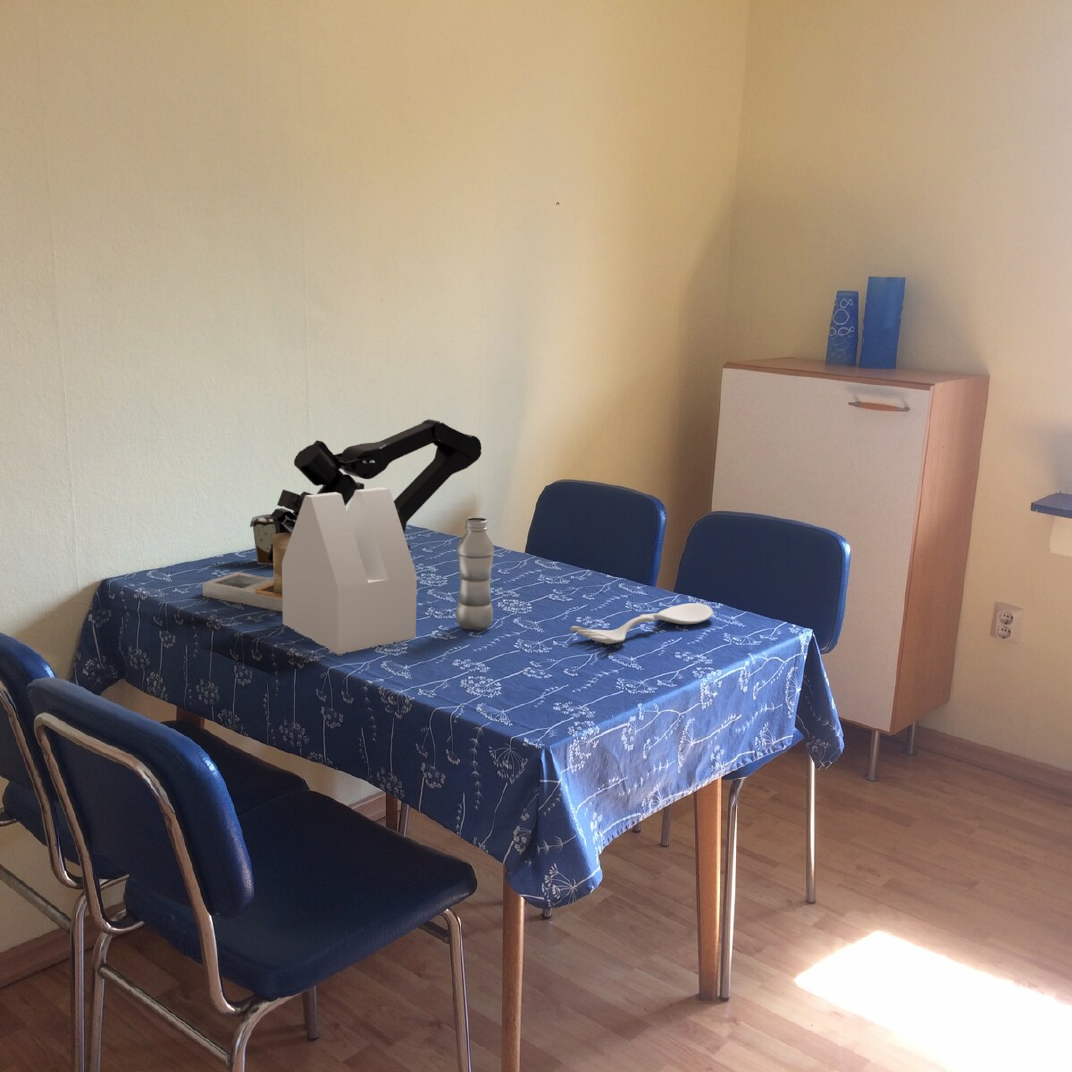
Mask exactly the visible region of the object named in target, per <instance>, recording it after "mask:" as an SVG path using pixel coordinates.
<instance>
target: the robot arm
mask: <svg viewBox="0 0 1072 1072" xmlns="http://www.w3.org/2000/svg"><path fill="white" fill-rule="evenodd" d="M432 444H433V445H434V446H435V447H436V450H435V454H434V458H433V459H432V461H431V462H430V463H429V464H427V466H426V467H425V468H424V469H423V470H422V471H421V472H420V473H419V474H418V475H417V476H416V477H415V478H414V479H413V481H411V482H410V484H408V485H407V487H405V489H403V490H402V492H401V493H400V494H399V495H398V496H397V497H396V498H395V499H393V501H394V504H395V507H396V510H397V513H398V517H399V520H400V523H401V526H402V529H403V532H404V534H406V533H405V531H406V529H407V524H408V522H409V520H410V519H412V517H413V516H414V515H415V514H416V513H417V512H418V511H419V510H420V509H421V508H422V507H423V506H424V505H425V503H426V502H427V501H428V500H429V499H431V497H432V496H434V494H435V493H436V492H437V491H438V490H439V489H440V488H441V487H442V486H443V485H444V484H445V482H446V481H447V480H448V479H449V478H450V477H452V476H453V475H454V474H457V473H458V472H461V471H464V470H466V469H468V468H469V467H471V466H472V465H473V464H474V463H476V462H477V461H478V460H479V458H480V457H481V456H482V444H481V441H480V438H478V437H477V436H476V435H472V434H466V433H463V432H461V431H459V430H458V429H456V428H455V429H454V428H453V427H450V426H449V425H447V424H445V423H444V422H443V421H440V420H436V419H435V420H434V419H425V420H424V421H422V422H421V423H419V424H417V425H414V426H412V427H409V428H407V429H406V430H403V431H401V432H398V433H396V434H394V435H391V436H388V437H387V438H385V439H383V440H380V441H376V442H364V443H358V444H355V445H351V446H348V447H346V448H344V450H342V452H340V453H336V454H334V453H333V452H332V451H331V450H330V449H329V447H328V445H327V444H326V443H325V442H323V441H322V440H316V441H315V442H313V444H310V445H307V446H306V447H304V448H303V449H302V450H300V451H298V452H297V454H296V455H295V458H294V460H293V465H294V466H295V467H296V468H297V469H298V471H300V472H301V473H302V475H303V476H305V478H307V480H309V481H310V483H312V484H313V485H314V486H321V488H319V490H318V491H317V493H316V494H323V493H333V492H337V493H340V494H342V498H343V501H344V504H345V507H346V506H347V505H348V503H350V502H351V500H352V497H353V495H354V492H355V490H361V489H365V483H363V482H359V481H356V480H355V479H354V478H353V477H357V478H360V479H363V480H371V479H374V478H375V477H377V476H378V475H380V474H381V473H382V472H384V471H385V470H386V469H387V467H388V466H389V465H390V464H391V463H392V462H394V461H395V460H398V459H400V458H402V457H404V456H407V455H409V454H411V453H413V452H415V451H419V449H422V448H426V446H429V445H432ZM341 470H342V471H343V472H344V473H345V474H344V473H343V472H342V471H341ZM352 476H353V477H352ZM280 493H281V494H280V496H279V498H278V502H277V504H276V506H278V507H280V508H275V509H274V511H273V512H272V513H270V514H271V515H270V518H271V519H272V520H273V524H274V525H275V530H276V533H275V534H278V533H292V532H293V529H294V526H295V523H296V521H297V517H298V515H299V512H300V509H301V506H302V503H303V500H304V498H305V495H314V494H313V493H310V492H308V491H302V493H300V494H298V493H295V492H293V491H290V490H288V489H282V491H281V492H280ZM282 507H284V508H282ZM290 510H291V511H290ZM292 511H293V512H292ZM407 545H408V548H409V551H410V550H411V547H410V545H409V544H408V543H407ZM267 560H269V561H270V562H272V561H273V543H272V546H271V548H270V551H269V554H268V557H267Z"/></svg>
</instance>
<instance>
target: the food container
mask: <svg viewBox="0 0 1072 1072" xmlns="http://www.w3.org/2000/svg"><path fill="white" fill-rule="evenodd" d="M271 514H272V513H267V514H260V515H256V516H253V517H252V518H251V520H250V524H249V527H250V528H252V531H253V538H254V547H255V554H256V563H257V565H267V564H269V565H270V566H271V565H272V566H273V561H272V562H270V561H269V560H267V557H268V554H269V551H270V548H271V546H272V543H273V535H274V534H275V533H276V530H275V525H274V524H273V520H272V519H271V518H270V515H271ZM297 518H298V517H297Z"/></svg>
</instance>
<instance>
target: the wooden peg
mask: <svg viewBox="0 0 1072 1072" xmlns="http://www.w3.org/2000/svg"><path fill="white" fill-rule="evenodd" d="M291 535H292V533H278V534H274V535H273V565H272V567H273V577H272V578H273V579H274V593H277V594H282V561H283V558H284V555H285V552H286V549H287V546H288V543H289V541H290V538H291Z"/></svg>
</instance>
